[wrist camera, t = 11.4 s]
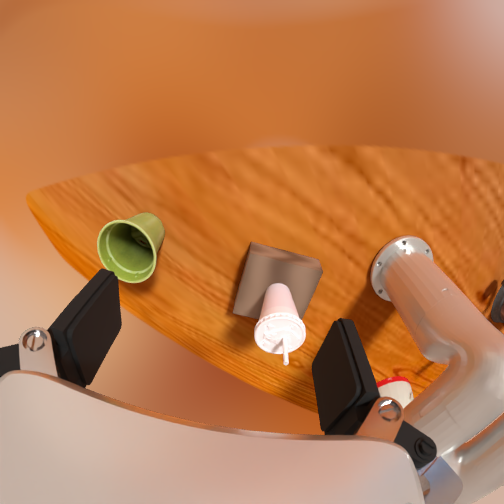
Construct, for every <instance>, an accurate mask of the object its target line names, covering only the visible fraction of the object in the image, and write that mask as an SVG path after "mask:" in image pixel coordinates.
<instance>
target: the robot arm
mask: <svg viewBox="0 0 504 504" xmlns="http://www.w3.org/2000/svg"><path fill="white" fill-rule="evenodd" d="M370 278H371V284H372V287H373V289H374V291H375V292H376V294H377V295H378V296H379V297H381V298H382V299H384V300H387V301H391V302H392V303H393V305H394V306H395V308H396V310H397V311H398V313H399V315H400V317H401V318H402V320H403V322H404V323H405V325H406V327H407V329H408V331H409V332H410V334H411V336H412V338H413V340H414V341H415V343H416V345H417V347H418V348H419V350H420V352H421V353H422V354H423V355H424V357H426V358H427V359H429V360H430V361H433V362H436V363H440V364H449V365H448V367H447V368H446V370H445V371H444V372H443V373H442V374H441V375H440V376H439V377H438V378H437V379H436V380H435V381H434V382H433V383H432V384H431V385H430V386H429V387H427V388H426V389H425V390H424V391H423V392H422V393H421V394H419V395H418V396H417V397H416V398H415V399H414V400H412V401H411V402H410V403H409V404H408V405H407V406H405V407H404V408H403V407H402V405H401V404H400V403H399V402H398V401H397V400H395V399H393V398H391V397H387V396H385V397H381V396H380V393H379V390H378V387H377V384H376V381H375V378H374V375H373V373H372V370H371V367H370V364H369V361H368V359H367V356H366V353H365V351H364V348H363V345H362V343H361V340H360V338H359V335H358V332H357V330H356V327H355V325H354V322H353V321H352V320H350V319H342V318H339V319H338V321H334V322H333V324H332V326H331V328H330V330H329V332H328V334H327V336H326V338H325V340H324V342H323V344H322V346H321V348H320V350H319V351H318V353H317V355H316V357H315V359H314V361H313V363H312V374H313V380H314V386H315V392H316V399H317V406H318V412H319V418H320V426H321V430H322V431H324V432H325V435H305V434H284V433H270V432H260V431H251V430H243V429H235V428H228V427H222V426H216V425H211V424H205V423H200V422H195V421H190V420H186V419H181V418H177V417H173V416H169V415H165V414H161V413H158V412H154V411H150V410H147V409H143V408H140V407H136V406H134V405H130V404H127V403H124V402H121V401H119V400H116V399H113V398H110V397H107V396H105V395H102V394H99V393H96V392H94V391H91V390H88V389H86V388H85V387H86V385H90V384H91V382H92V381H93V379H94V377H95V375H96V373H97V371H98V369H99V367H100V365H101V364H102V362H103V360H104V358H105V356H106V354H107V353H108V351H109V349H110V347H111V345H112V344H113V342H114V340H115V338H116V337H117V335H118V333H119V331H120V329H121V325H122V324H121V323H122V322H121V312H120V300H119V286H118V277H117V276H115V273H114V272H113V271H110V270H106V269H100V270H99V271H98V273H97V274H96V275H95V276H94V277H93V278H92V279H91V280H90V281H89V282H88V283H87V285H86V286H85V287H84V288H83V289H82V290H81V291H80V293H79V294H78V295H76V296H75V298H74V299H73V300H72V301H71V302H70V303H69V305H68V306H67V307H66V308H65V309H64V310H63V312H62V313H61V314H60V315H59V316H58V318H57V319H56V320H55V321H54V323H53V324H52V325H51V326H50V327H49V329H48V330H45V329H44V328H40V327H32V328H29V329H27V330H26V331H25V332H23V333H22V335H21V337H20V339H19V344H15V345H11V346H7V347H2V348H0V504H471V503H473V502H476V501H478V500H479V499H481V498H483V497H485V496H486V495H488V494H490V493H491V492H493V491H494V490H496V489H498V488H499V487H501V486H503V485H504V413H503V414H502V415H501V416H500V417H499V418H498V419H497V420H495V421H494V422H493V423H492V424H491V425H489V424H490V423H491V422H492V421H493V420H494V419H496V418H497V417H498V416H499V415H500V414H501V413H502V412H503V411H504V335H503V334H502V333H501V332H500V331H499V330H498V329H496V328H495V327H494V326H493V325H492V324H491V323H490V322H489V321H488V320H487V319H486V318H485V317H484V316H483V315H482V314H481V312H480V311H479V310H478V309H477V308H476V307H475V306H474V305H473V304H472V302H471V301H470V300H469V299H468V298H467V297H466V296H465V295H464V294H463V293H462V292H461V290H460V289H459V288H458V287H457V286H456V285H455V284H454V283H453V282H452V281H451V280H450V279H449V278H448V277H447V276H446V275H445V273H444V272H443V271H442V270H441V269H440V268H439V267H438V266H437V265H436V264H435V263H434V262H433V254H432V252H431V249H430V247H429V246H428V245H427V244H426V243H425V242H424V241H423V240H422V239H420V238H418V237H416V236H402V237H398V238H396V239H394V240H392V241H390V242H389V243H388V244H386V245H385V246H384V247H383V248H382V249H381V250H380V252H379V253H378V254H377V256H376V258H375V260H374V262H373V264H372V268H371V273H370ZM488 425H489V426H488ZM486 426H488V427H487V428H486V429H485V430H483V429H484V428H485V427H486ZM481 430H483V431H482V432H481V433H480V434H478V433H479V432H480V431H481ZM476 434H478V435H477V436H476V437H474V438H473V439H472V440H470V441H469V442H467V443H465V442H466V441H468V440H469V439H470V438H472V437H473V436H474V435H476Z"/></svg>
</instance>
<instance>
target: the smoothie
mask: <svg viewBox="0 0 504 504" xmlns="http://www.w3.org/2000/svg"><path fill="white" fill-rule="evenodd" d="M305 336H306V333H305V326H304V323H303V322H302V320H301V319H300V318H299V316H298V313H297V310H296V307H295V304H294V301H293V299H292V296H291V293H290V290H289V288H288V287H287V286H286V285H284V284H281V283H276V284H272V285H271V286H269V287H268V288H267V290H266V293H265V298H264V302H263V306H262V310H261V315H260V318H259V321H258V323H257V324H256V326H255V329H254V337H255V341H256V343H257V345H258V346H259V347H260V348H261V349H263V350H264V351H266V352H269V353H273V354H283V361H284V365H288V364H289V361H288V353H289V352H292V351H294V350H296V349H297V348H299V347H300V346H301V345H302V343H303V342H304V340H305Z"/></svg>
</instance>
